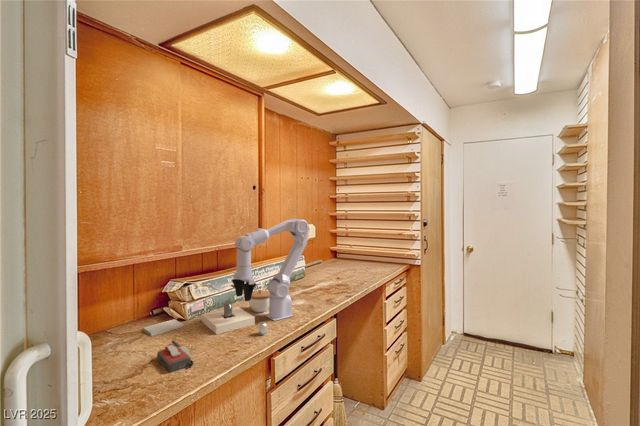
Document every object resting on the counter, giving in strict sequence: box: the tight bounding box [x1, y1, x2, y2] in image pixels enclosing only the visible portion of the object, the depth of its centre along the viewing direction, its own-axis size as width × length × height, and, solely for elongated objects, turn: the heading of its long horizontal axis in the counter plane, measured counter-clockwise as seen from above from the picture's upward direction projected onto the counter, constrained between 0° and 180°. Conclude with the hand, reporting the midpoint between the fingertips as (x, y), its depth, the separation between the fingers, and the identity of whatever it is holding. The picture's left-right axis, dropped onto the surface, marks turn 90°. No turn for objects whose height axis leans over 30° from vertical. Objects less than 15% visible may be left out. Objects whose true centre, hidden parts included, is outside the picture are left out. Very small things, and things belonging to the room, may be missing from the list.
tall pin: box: [223, 302, 233, 319], centre depth 131 cm, size 3×3×8 cm
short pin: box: [257, 321, 268, 337], centre depth 121 cm, size 3×3×4 cm
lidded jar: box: [248, 289, 270, 313], centre depth 147 cm, size 11×11×9 cm
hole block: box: [201, 306, 256, 335], centre depth 131 cm, size 16×16×3 cm
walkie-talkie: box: [156, 340, 194, 373], centre depth 102 cm, size 9×4×20 cm
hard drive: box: [142, 318, 185, 337], centre depth 125 cm, size 2×8×12 cm
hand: (243, 298), depth 131 cm, fingers open, 7 cm apart
